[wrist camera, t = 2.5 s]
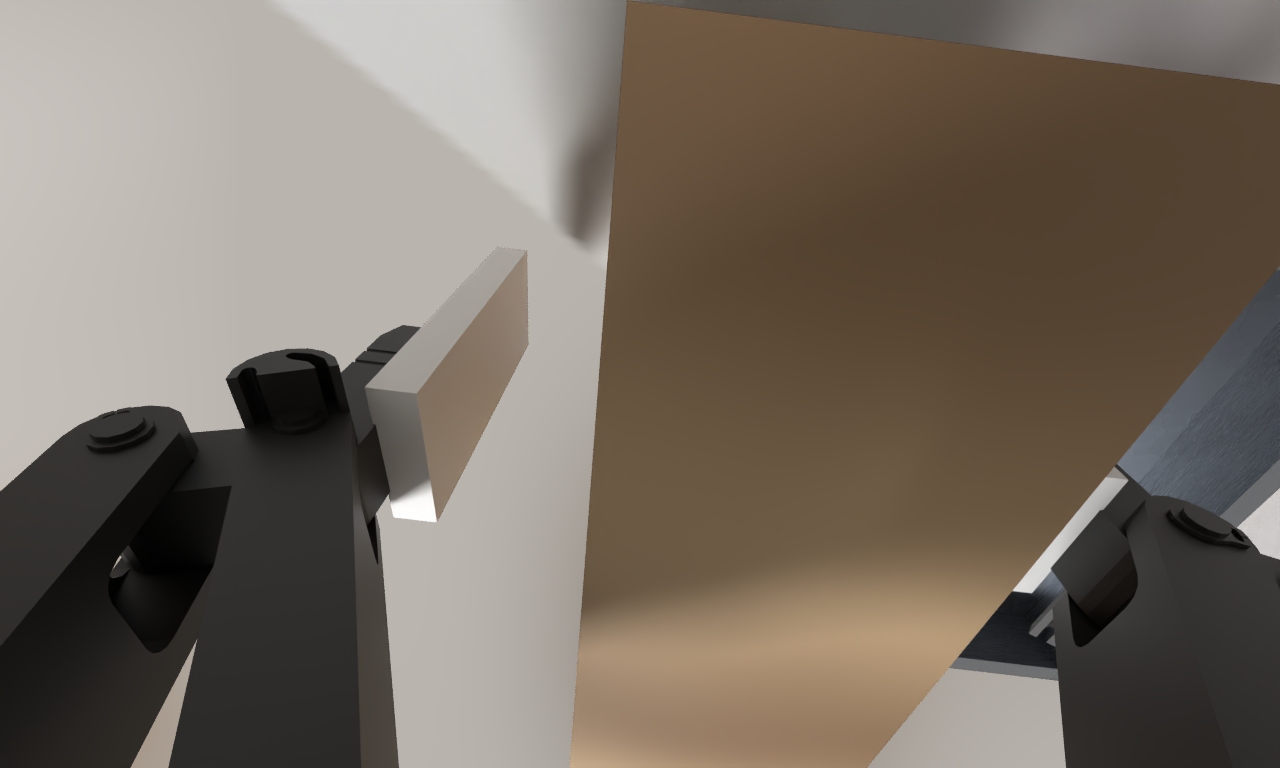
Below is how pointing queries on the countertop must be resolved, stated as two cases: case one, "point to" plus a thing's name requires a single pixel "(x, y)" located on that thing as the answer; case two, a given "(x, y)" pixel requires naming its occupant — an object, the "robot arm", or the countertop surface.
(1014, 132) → the panel
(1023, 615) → the track
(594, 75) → the countertop surface
